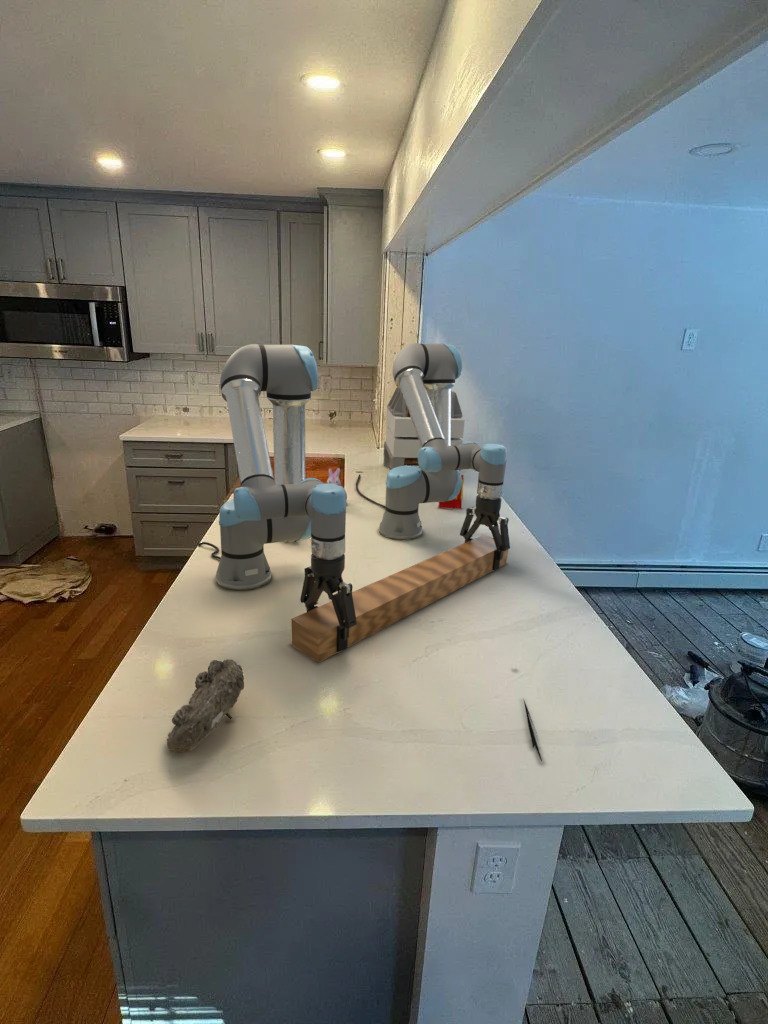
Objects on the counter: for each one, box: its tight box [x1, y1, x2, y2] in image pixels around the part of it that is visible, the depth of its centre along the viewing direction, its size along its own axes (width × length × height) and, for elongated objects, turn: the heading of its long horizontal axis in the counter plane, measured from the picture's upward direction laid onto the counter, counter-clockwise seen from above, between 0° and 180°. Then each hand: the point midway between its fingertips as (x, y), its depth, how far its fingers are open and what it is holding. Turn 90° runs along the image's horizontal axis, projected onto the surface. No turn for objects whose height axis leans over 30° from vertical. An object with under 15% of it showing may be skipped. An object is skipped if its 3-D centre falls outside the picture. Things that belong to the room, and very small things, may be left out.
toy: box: [438, 474, 465, 510], centre depth 239 cm, size 12×13×30 cm
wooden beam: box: [290, 534, 509, 664], centre depth 155 cm, size 78×10×7 cm, turn 137°
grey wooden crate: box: [383, 386, 465, 475], centre depth 268 cm, size 34×33×41 cm
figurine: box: [326, 467, 348, 501], centre depth 223 cm, size 9×10×15 cm
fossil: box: [166, 658, 245, 754], centre depth 106 cm, size 22×10×15 cm
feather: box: [514, 668, 543, 762], centre depth 113 cm, size 2×28×2 cm
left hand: (327, 640), depth 133 cm, fingers closed on wooden beam, 10 cm apart
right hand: (481, 563), depth 178 cm, fingers closed on wooden beam, 10 cm apart
